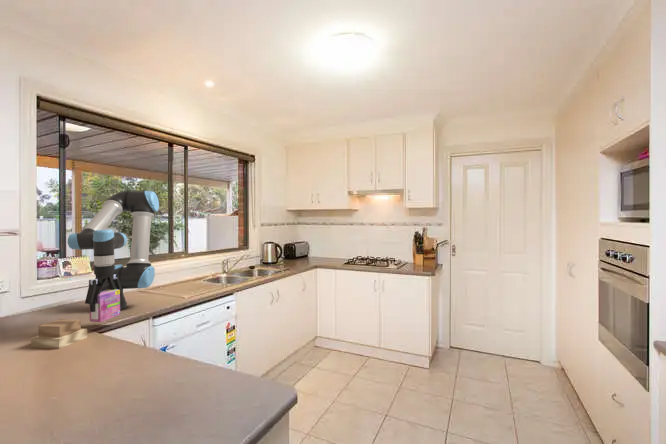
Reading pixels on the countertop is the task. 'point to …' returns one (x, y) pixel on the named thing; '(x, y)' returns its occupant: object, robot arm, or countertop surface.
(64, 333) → the tower top
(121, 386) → the countertop surface
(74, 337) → the tower base
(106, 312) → the box
